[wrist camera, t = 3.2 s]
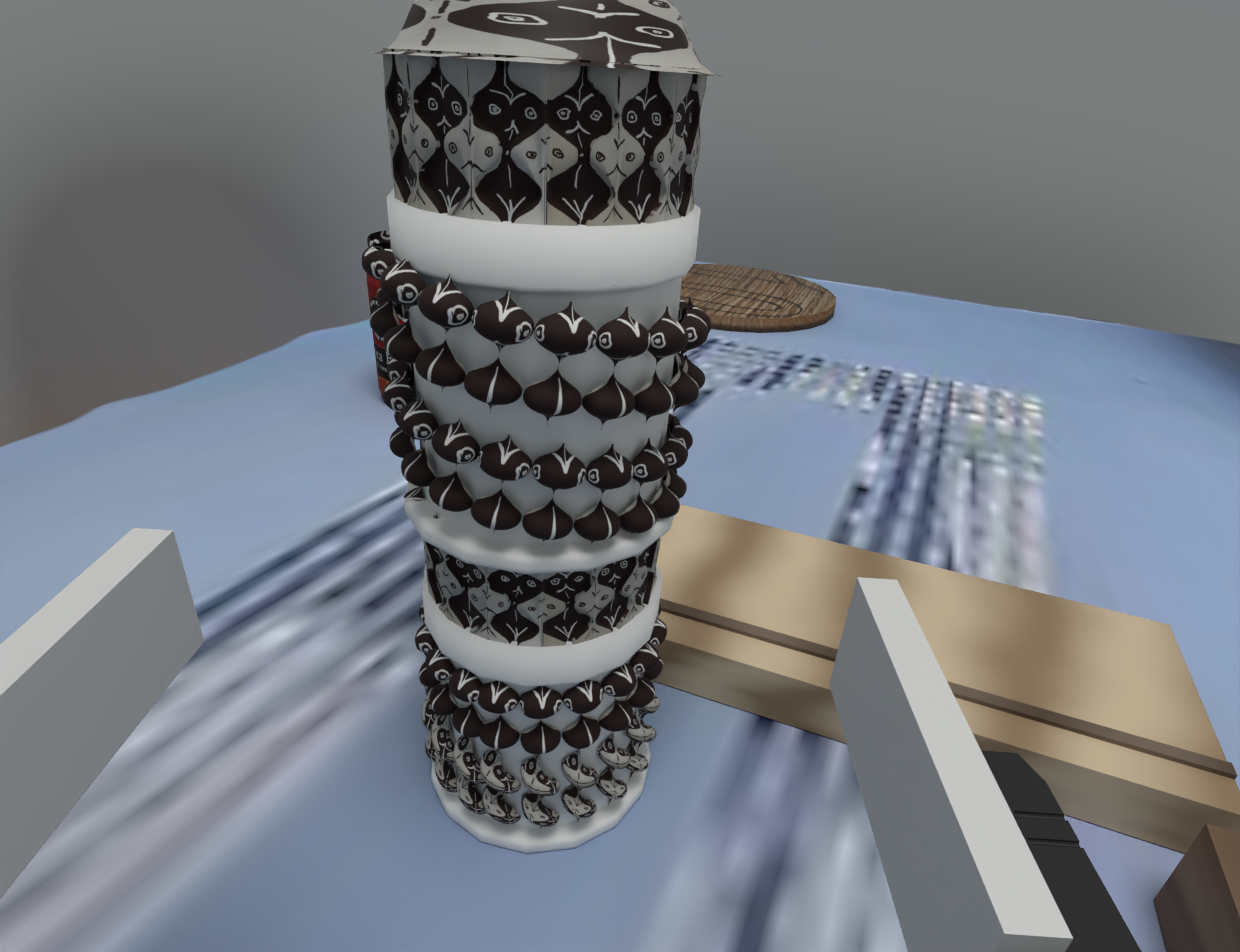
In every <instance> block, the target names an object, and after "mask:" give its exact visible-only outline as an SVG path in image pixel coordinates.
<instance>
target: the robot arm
mask: <svg viewBox="0 0 1240 952" xmlns="http://www.w3.org/2000/svg"><path fill="white" fill-rule="evenodd" d="M203 642H204V639H203V635H202V631H201V628H200V624H199V621H198V617H197V614H196V610H195V606H194V603H193V599H192V596H191V592H190V589H189V585H188V581H187V578H186V574H185V571H184V567H183V564H182V560H181V556H180V553H179V549H178V546H177V542H176V539H175V535H174V531H170V530H156V529H141V528H133V529H132V530H131V531H130V532H128V533H127V534H126V535H125V536H124V537H123V538H122V539H120V540H119V541H118V542H117V543H116V544H115V545H114V546H112V547H111V548H110V549H109V550H108V551H107V552H106V553H104V554H103V555H102V556H101V557H100V558H99V559H98V560H96V561H95V562H94V563H93V564H92V565H91V566H90V567H88V568H87V569H86V570H85V571H84V572H83V573H82V574H80V575H79V576H78V577H77V578H76V579H75V580H74V581H72V582H71V583H70V584H69V585H68V586H67V587H66V588H64V589H63V590H62V591H61V592H60V593H59V594H58V595H56V596H55V597H54V598H53V599H52V600H51V601H49V602H48V603H47V604H46V605H45V606H44V607H43V608H41V609H40V610H39V611H38V612H37V613H36V614H35V615H33V616H32V617H31V618H30V619H29V620H28V621H27V622H25V623H24V624H23V625H22V626H21V627H20V628H19V629H17V630H16V631H15V632H14V633H13V634H12V635H11V636H9V637H8V638H7V639H6V640H5V641H4V642H3V643H1V644H0V899H1V898H2V897H3V895H4V894H5V893H6V891H7V890H8V889H9V888H10V886H11V885H12V884H13V883H14V881H15V880H16V879H17V878H18V876H19V875H20V874H21V872H22V871H23V870H24V869H25V867H26V866H27V865H28V864H29V862H30V861H31V860H32V859H33V857H34V856H35V855H36V853H37V852H38V851H39V850H40V848H41V847H42V846H43V845H44V843H45V842H46V841H47V840H48V838H49V837H50V836H51V834H52V833H53V832H54V831H55V829H56V828H57V827H58V826H59V824H60V823H61V822H62V821H63V819H64V818H65V817H66V815H67V814H68V813H69V812H70V810H71V809H72V808H73V807H74V805H75V804H76V803H77V802H78V800H79V799H80V798H81V796H82V795H83V794H84V793H85V791H86V790H87V789H88V788H89V786H90V785H91V784H92V783H93V781H94V780H95V779H96V777H97V776H98V775H99V774H100V772H101V771H102V770H103V769H104V767H105V766H106V765H107V764H108V762H109V761H110V760H111V758H112V757H113V756H114V755H115V753H116V752H117V751H118V750H119V748H120V747H121V746H122V745H123V743H124V742H125V741H126V739H127V738H128V737H129V736H130V734H131V733H132V732H133V731H134V729H135V728H136V727H137V726H138V724H139V723H140V722H141V720H142V719H143V718H144V717H145V715H146V714H147V713H148V712H149V710H150V709H151V708H152V707H153V705H154V704H155V703H156V701H157V700H158V699H159V698H160V696H161V695H162V694H163V693H164V691H165V690H166V689H167V688H168V686H169V685H170V684H171V682H172V681H173V680H174V679H175V677H176V676H177V675H178V674H179V672H180V671H181V670H182V669H183V667H184V666H185V665H186V663H187V662H188V661H189V660H190V658H191V657H192V656H193V655H194V653H195V652H196V651H197V650H198V648H199V647H200V646H201V644H202V643H203ZM829 685H830V689H831V692H832V695H833V699H834V702H835V705H836V709H837V712H838V716H839V719H840V722H841V726H842V729H843V733H844V736H845V739H846V743H847V746H848V750H849V753H850V756H851V760H852V763H853V766H854V770H855V773H856V777H857V780H858V783H859V787H860V790H861V794H862V797H863V800H864V804H865V807H866V811H867V814H868V817H869V821H870V824H871V828H872V831H873V834H874V838H875V841H876V844H877V848H878V851H879V855H880V858H881V861H882V865H883V868H884V872H885V875H886V878H887V882H888V885H889V889H890V892H891V895H892V899H893V902H894V905H895V909H896V912H897V916H898V919H899V922H900V926H901V929H902V933H903V936H904V939H905V943H906V946H907V950H908V952H1141V950H1140V948H1139V947H1138V945H1137V943H1136V941H1135V940H1134V938H1133V936H1132V934H1131V932H1130V931H1129V929H1128V927H1127V925H1126V924H1125V922H1124V920H1123V918H1122V916H1121V915H1120V913H1119V911H1118V909H1117V907H1116V906H1115V904H1114V902H1113V900H1112V899H1111V897H1110V895H1109V893H1108V891H1107V890H1106V888H1105V886H1104V884H1103V883H1102V881H1101V879H1100V877H1099V875H1098V874H1097V872H1096V870H1095V868H1094V867H1093V865H1092V863H1091V861H1090V859H1089V858H1088V856H1087V854H1086V852H1085V850H1084V849H1083V848H1080V846H1079V840H1078V838H1077V836H1076V834H1075V833H1074V831H1073V829H1072V827H1071V826H1070V824H1069V822H1068V821H1065V819H1064V813H1063V811H1062V810H1061V808H1060V806H1059V804H1058V802H1057V801H1056V799H1055V797H1054V795H1053V793H1052V792H1051V790H1050V788H1049V786H1048V785H1047V783H1046V781H1045V780H1044V779H1043V778H1042V777H1041V776H1040V775H1039V774H1038V773H1037V772H1036V771H1035V770H1034V769H1033V768H1032V767H1031V766H1030V765H1029V764H1028V763H1027V762H1026V761H1025V760H1024V759H1023V758H1022V757H1021V756H1020V755H1019V754H1018V753H1012V752H997V751H983V750H981V749H980V747H979V745H978V743H977V741H976V739H975V737H974V735H973V733H972V731H971V729H970V727H969V725H968V723H967V721H966V719H965V717H964V715H963V713H962V711H961V709H960V707H959V705H958V703H957V701H956V699H955V697H954V695H953V692H952V690H951V688H950V686H949V684H948V682H947V680H946V678H945V676H944V674H943V672H942V670H941V668H940V666H939V664H938V662H937V660H936V658H935V656H934V654H933V652H932V650H931V648H930V646H929V644H928V642H927V640H926V638H925V635H924V633H923V631H922V629H921V627H920V625H919V623H918V621H917V619H916V617H915V615H914V613H913V611H912V609H911V607H910V605H909V603H908V601H907V599H906V597H905V595H904V593H903V591H902V589H901V587H900V585H899V583H898V580H892V579H877V578H862V577H857V580H856V583H855V587H854V591H853V595H852V599H851V602H850V606H849V610H848V614H847V618H846V622H845V625H844V629H843V633H842V637H841V641H840V644H839V648H838V652H837V656H836V660H835V663H834V667H833V671H832V675H831V679H830V683H829Z"/></svg>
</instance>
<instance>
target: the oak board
mask: <svg viewBox="0 0 1240 952" xmlns="http://www.w3.org/2000/svg"><path fill="white" fill-rule="evenodd" d="M657 565H658V568H659V571H660V574H661V577H662V583H661V592H660V604H661V613H660V616H659V617H658V618H659V619H660V620H662V621H663V622H664V623H665V624H666V627H667V635H666V638H665V640H664V641H663V643H661V644H660V645H659V646H657V647H656V649H657V650H658V653H659V657H660V658H661V659H662V662H663V668H662V671H661V673H660V675H659V676H658V677H657V678H656V679H654V681H656V682H659V683H662V684H665V685H668V686H671V687H674V688H677V689H680V690H683V691H686V692H689V693H692V694H696V695H699V696H702V697H705V698H708V699H711V700H714V701H717V702H720V703H723V704H726V705H729V706H733V707H736V708H739V709H742V710H745V711H748V712H751V713H754V714H757V715H760V716H763V717H766V718H769V719H773V720H776V721H779V722H782V723H785V724H788V725H791V726H794V727H797V728H800V729H803V730H806V731H809V732H813V733H816V734H819V735H822V736H825V737H828V738H831V739H834V740H837V741H840V742H843V743H846V739H845V736H844V733H843V729H842V726H841V722H840V719H839V716H838V712H837V709H836V705H835V702H834V699H833V695H832V692H831V689H830V685H829V683H830V679H831V675H832V671H833V667H834V663H835V660H836V656H837V652H838V648H839V644H840V641H841V637H842V633H843V629H844V625H845V622H846V618H847V614H848V610H849V606H850V602H851V599H852V595H853V591H854V587H855V583H856V580H857V577H862V578H877V579H892V580H898V583H899V585H900V587H901V589H902V591H903V593H904V595H905V597H906V599H907V601H908V603H909V605H910V607H911V609H912V611H913V613H914V615H915V617H916V619H917V621H918V623H919V625H920V627H921V629H922V631H923V633H924V635H925V638H926V640H927V642H928V644H929V646H930V648H931V650H932V652H933V654H934V656H935V658H936V660H937V662H938V664H939V666H940V668H941V670H942V672H943V674H944V676H945V678H946V680H947V682H948V684H949V686H950V688H951V690H952V692H953V695H954V697H955V699H956V701H957V703H958V705H959V707H960V709H961V711H962V713H963V715H964V717H965V719H966V721H967V723H968V725H969V727H970V729H971V731H972V733H973V735H974V737H975V739H976V741H977V743H978V745H979V747H980V749H981V750H983V751H997V752H1012V753H1018V754H1019V755H1020V756H1021V757H1022V758H1023V759H1024V760H1025V761H1026V762H1027V763H1028V764H1029V765H1030V766H1031V767H1032V768H1033V769H1034V770H1035V771H1036V772H1037V773H1038V774H1039V775H1040V776H1041V777H1042V778H1043V779H1044V780H1045V781H1046V783H1047V785H1048V786H1049V788H1050V790H1051V792H1052V793H1053V795H1054V797H1055V799H1056V801H1057V802H1058V804H1059V806H1060V808H1061V810H1062V811H1063V813H1064V814H1065V815H1068V816H1071V817H1074V818H1077V819H1080V820H1084V821H1087V822H1090V823H1093V824H1096V825H1099V826H1102V827H1105V828H1108V829H1111V830H1114V831H1117V832H1121V833H1124V834H1127V835H1130V836H1133V837H1136V838H1139V839H1142V840H1145V841H1148V842H1151V843H1154V844H1157V845H1161V846H1164V847H1167V848H1170V849H1173V850H1176V851H1179V852H1182V853H1186V852H1187V851H1188V849H1189V848H1190V846H1191V845H1192V843H1193V842H1194V840H1195V839H1196V837H1197V836H1198V834H1199V833H1200V831H1201V830H1202V828H1203V827H1204V826H1205V824H1206V823H1207V824H1210V825H1214V826H1217V827H1220V828H1223V829H1226V830H1230V831H1233V832H1236V833H1239V834H1240V791H1239V789H1238V786H1237V784H1236V782H1235V778H1236V777H1237V774H1236V772H1235V769H1234V767H1233V765H1232V763H1230V762H1227V760H1226V758H1225V756H1224V753H1223V751H1222V748H1221V746H1220V744H1219V741H1218V739H1217V737H1216V734H1215V732H1214V729H1213V727H1212V725H1211V722H1210V720H1209V718H1208V715H1207V713H1206V711H1205V708H1204V706H1203V703H1202V701H1201V699H1200V696H1199V694H1198V692H1197V689H1196V687H1195V685H1194V682H1193V680H1192V677H1191V675H1190V673H1189V670H1188V668H1187V666H1186V663H1185V661H1184V659H1183V656H1182V654H1181V651H1180V649H1179V647H1178V644H1177V642H1176V640H1175V637H1174V635H1173V633H1172V630H1171V628H1170V625H1169V624H1165V623H1161V622H1157V621H1152V620H1148V619H1144V618H1140V617H1136V616H1132V615H1128V614H1124V613H1120V612H1116V611H1112V610H1108V609H1104V608H1100V607H1096V606H1091V605H1087V604H1083V603H1079V602H1075V601H1071V600H1067V599H1063V598H1059V597H1055V596H1051V595H1047V594H1043V593H1039V592H1035V591H1031V590H1026V589H1022V588H1018V587H1014V586H1010V585H1006V584H1002V583H998V582H994V581H990V580H986V579H982V578H978V577H974V576H970V575H966V574H961V573H957V572H953V571H949V570H945V569H941V568H937V567H933V566H929V565H925V564H921V563H917V562H913V561H909V560H905V559H900V558H896V557H892V556H888V555H884V554H880V553H876V552H872V551H868V550H864V549H860V548H856V547H852V546H848V545H844V544H840V543H835V542H831V541H827V540H823V539H819V538H815V537H811V536H807V535H803V534H799V533H795V532H791V531H787V530H783V529H779V528H775V527H770V526H766V525H762V524H758V523H754V522H750V521H746V520H742V519H738V518H734V517H730V516H726V515H722V514H718V513H714V512H709V511H705V510H701V509H697V508H693V507H689V506H685V505H681V504H680V509H679V512H678V513H677V514H676V515H675V516H674V519H673V522H672V525H671V528H670V530H669V531H668V532H667V533H665V534H664V535H663V536H662V537H660V548H659V553H658V558H657ZM846 744H847V743H846Z"/></svg>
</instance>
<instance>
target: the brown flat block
mask: <svg viewBox="0 0 1240 952" xmlns="http://www.w3.org/2000/svg"><path fill="white" fill-rule="evenodd" d="M1154 903H1155V907H1156V911H1157V914H1158V918H1159V922H1160V926H1161V930H1162V934H1163V938H1164V942H1165V945H1166V949H1167V952H1240V834H1239V833H1236V832H1233V831H1230V830H1226V829H1223V828H1220V827H1217V826H1214V825H1210V824H1207V823H1206V824H1205V826H1204V827H1203V828H1202V830H1201V831H1200V833H1199V834H1198V836H1197V837H1196V839H1195V840H1194V842H1193V843H1192V845H1191V846H1190V848H1189V849H1188V851H1187V852H1186V853H1185V855H1184V856H1183V858H1182V859H1181V861H1180V862H1179V864H1178V865H1177V867H1176V868H1175V870H1174V871H1173V873H1172V874H1171V876H1170V877H1169V879H1168V880H1167V881H1166V883H1165V884H1164V886H1163V887H1162V889H1161V890H1160V892H1159V893H1158V895H1157V896H1156V898H1155V899H1154Z"/></svg>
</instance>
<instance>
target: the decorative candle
mask: <svg viewBox="0 0 1240 952" xmlns="http://www.w3.org/2000/svg"><path fill="white" fill-rule="evenodd" d="M374 53H376V54H383V66H384V83H385V100H386V110H387V122H388V133H389V144H390V155H391V165H392V178H393V186H394V188H393V189H392V191H391V192H390V194H389V195H388V196H387V208H388V218H389V230H390V234H387V233H386V230H385V231H380V232H376V233H372V234H371V235H369V237H368V239H367V241H368V246H369V248H368V249H366V250H365V251H364V253H363V255H362V266H363V269H364V270H365V271H366V272H367V273H368V275H370V276H371V277H373V278H375V279H377V280H379V281H380V288H379V289H378V291H377V295H376V299H377V303H378V305H379V306H378V307H376V308H375V309H374V310H373V312H372V313H371V316H370V326H371V328H372V329H373V331H374V332H376V333H377V334H379V335H381V336H384V340H383V344H384V349H385V350H386V352H387V354H388V355H389V356H391V357H392V359H391V360H390V361H389V363H388V366H387V372H388V375H389V378H390V379H391V381H390V382H389V383H388V384H387V385H386V386H385V388H384V390H383V395H382V397H383V400H384V402H385V403H386V405H387V406H388V407H390V408H391V409H393V410H395V414H394V417H395V421H396V423H397V424H398V426H399V427H398V428H397V429H396V430H395V431H394V432H393V433H392V435H391V437H390V449H391V451H392V452H393V453H394V454H395V455H396V456H398V457H401V458H404V459H403V461H402V465H401V470H402V474H403V476H404V477H405V479H406V480H407V481H408V486H407V492H406V494H405V496H404V497H405V503H404V504H405V513H406V514H407V516H408V517H409V519H410V520H411V522H412V523H413V525H414V526H415V528H416V529H417V531H418V532H419V534H420V535H421V537H422V538H423V542H424V552H425V570H424V579H423V588H422V594H423V605H422V606H421V608H420V610H419V616H420V619H421V621H422V622H423V623H424V624H423V625H422V626H421V627H420V628H419V630H418V631H417V634H416V637H415V644H416V647H417V649H418V650H420V651H421V652H423V653H424V654H425V655H426V656H427V657H426V661H425V662H424V663H423V665H422V667H421V669H420V672H419V679H420V682H421V683H422V684H423V685H424V686H425V690H426V694H427V697H426V699H425V701H424V703H423V707H422V721H423V724H424V726H425V727H426V728H427V729H428V730H429V731H428V733H427V736H426V742H425V750H426V753H427V756H428V757H429V758H430V759H431V760H432V771H431V779H432V783H433V785H434V787H435V790H436V792H437V794H438V796H439V798H440V801H441V803H442V805H443V807H444V809H445V811H446V814H447V816H448V817H450V818H451V819H452V820H454V821H455V822H456V823H457V824H459V825H460V826H461V827H463V828H464V829H465V830H466V831H468V832H469V833H470V834H471V835H473V836H474V837H475V838H477V839H478V840H479V841H480V842H483V843H487V844H491V845H495V846H499V847H502V848H506V849H510V850H514V851H518V852H522V853H526V854H529V853H537V852H546V851H555V850H563V849H572V848H576V847H578V846H580V845H582V844H584V843H586V842H588V841H589V840H591V839H593V838H595V837H597V836H599V835H601V834H603V833H605V832H607V831H609V830H610V829H612V828H614V827H616V826H617V824H618V823H619V822H620V821H621V820H622V818H623V817H624V816H625V815H626V814H627V812H628V811H629V810H630V809H631V808H632V806H633V805H634V804H635V803H636V801H637V800H638V799H639V798H640V797H641V795H642V792H643V787H644V783H645V779H646V775H647V771H648V767H649V763H650V756H651V754H650V750H649V746H648V742H651V741H653V740H654V739H655V737H656V731H655V729H654V728H653V727H651V726H649V725H647V724H645V723H644V722H643V720H642V719H643V717H644V716H645V715H646V714H647V713H654V712H656V711H657V710H658V708H659V706H660V701H659V699H658V698H657V697H655V689H654V686H653V684H652V683H653V681H654V679H656V678H657V677H658V676H659V675H660V673H661V671H662V668H663V662H662V659H661V658H660V657H659V653H658V650H657V649H656V647H657V646H659V645H660V644H661V643H663V641H664V640H665V638H666V635H667V627H666V624H665V623H664V622H663V621H662V620H660V619H659V618H658V617H659V616H660V613H661V604H660V592H661V583H662V577H661V574H660V571H659V568H658V565H657V558H658V553H659V548H660V537H662V536H663V535H664V534H665V533H667V532H668V531H669V530H670V528H671V525H672V522H673V519H674V516H675V515H676V514H677V513H678V512H679V509H680V501H679V499H680V498H681V497H683V496H684V494H685V492H686V489H687V486H686V482H685V481H684V480H683V479H682V478H681V477H679V476H678V475H677V468H679V467H681V466H682V465H683V464H684V463H685V462H686V460H687V457H688V449H689V448H690V447H691V446H692V443H693V439H692V436H691V434H690V432H689V431H688V430H687V429H685V428H684V427H682V426H680V422H679V420H678V419H677V417H676V416H674V415H672V414H670V413H669V410H670V409H671V408H673V413H674V411H675V410H676V409H677V408H679V407H681V406H684V405H688V404H690V403H692V402H694V401H695V400H696V399H697V398H698V395H699V389H700V388H701V387H702V386H703V384H704V382H705V375H704V373H703V372H702V371H701V370H700V369H699V368H698V367H697V366H695V365H694V364H693V363H691V362H690V360H689V359H688V358H687V356H686V354H685V356H684V355H683V354H684V353H685V352H686V351H688V350H691V349H694V348H696V347H699V346H700V345H702V344H703V343H704V342H705V341H706V339H707V336H708V333H709V331H710V329H711V320H710V318H709V316H708V315H707V314H706V313H704V312H703V311H702V310H700V309H699V308H697V307H696V306H694V305H693V303H692V302H691V297H690V296H689V301H688V303H687V302H685V301H683V300H682V299H680V292H681V282H682V277H684V276H686V274H687V273H688V271H689V270H690V268H691V267H692V265H693V264H694V262H695V256H696V247H697V237H698V227H699V219H700V208H699V207H698V206H696V205H695V204H694V200H693V180H694V174H695V170H696V166H697V161H698V157H699V149H700V128H699V117H700V110H701V105H702V100H703V97H704V93H705V88H706V79H707V76H719V75H715V74H713V73H711V72H709V71H708V70H706V68H705V67H704V66H703V65H702V64H701V63H700V61H699V59H698V57H697V55H696V53H695V51H694V48H693V46H692V43H691V40H690V38H689V35H688V32H687V30H686V27H685V24H684V22H683V20H682V18H681V16H680V14H679V12H678V11H677V9H676V8H675V6H674V5H673V4H672V3H671V2H670V1H669V0H415V1H414V3H413V5H412V8H411V10H410V12H409V14H408V17H407V19H406V21H405V24H404V26H403V28H402V30H401V32H400V34H399V36H398V38H397V39H396V40H395V42H394V43H393V44H392V45H391V46H390V47H389V48H387V49H386V48H383V51H381V52H374ZM396 259H397V260H398V261H399V262H400V263H396ZM406 308H407V310H408V313H409V315H410V321H409V316H408V320H407V321H406V322H404V323H403V324H400V325H399V321H398V317H397V315H399V316H401V317H402V318H403V320H404V313H405V310H406ZM680 351H681V353H679V352H680ZM414 379H415V388H416V398H414V396H413V394H412V392H413V391H411V390H412V386H413V381H414ZM414 439H418V440H420V449H421V450H420V449H418V450H416V447H415V444H414ZM640 714H641V717H639V715H640Z"/></svg>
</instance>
